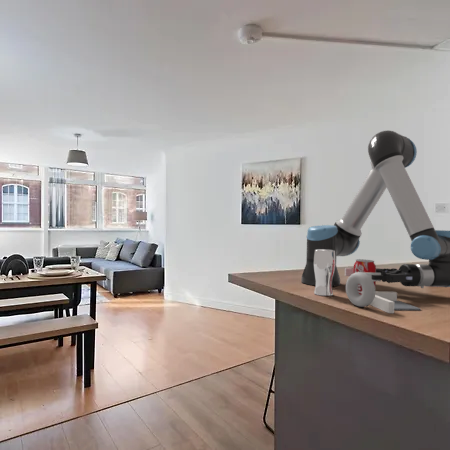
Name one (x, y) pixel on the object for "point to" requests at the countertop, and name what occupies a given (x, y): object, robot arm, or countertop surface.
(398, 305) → the white angle bar
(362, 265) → the soda can
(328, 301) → the countertop surface
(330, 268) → the beer glass
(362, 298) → the donut
